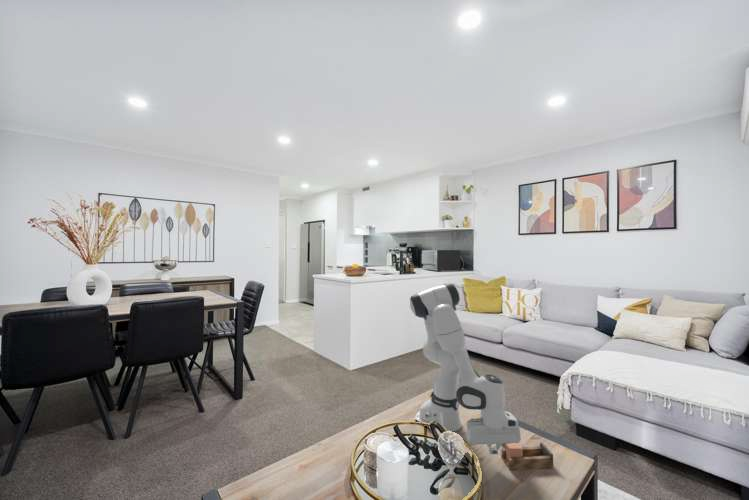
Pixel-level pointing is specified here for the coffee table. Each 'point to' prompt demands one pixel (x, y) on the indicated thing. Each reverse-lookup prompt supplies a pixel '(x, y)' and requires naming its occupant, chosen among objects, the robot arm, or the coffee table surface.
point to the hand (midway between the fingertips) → (493, 453)
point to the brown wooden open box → (530, 459)
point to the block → (513, 450)
